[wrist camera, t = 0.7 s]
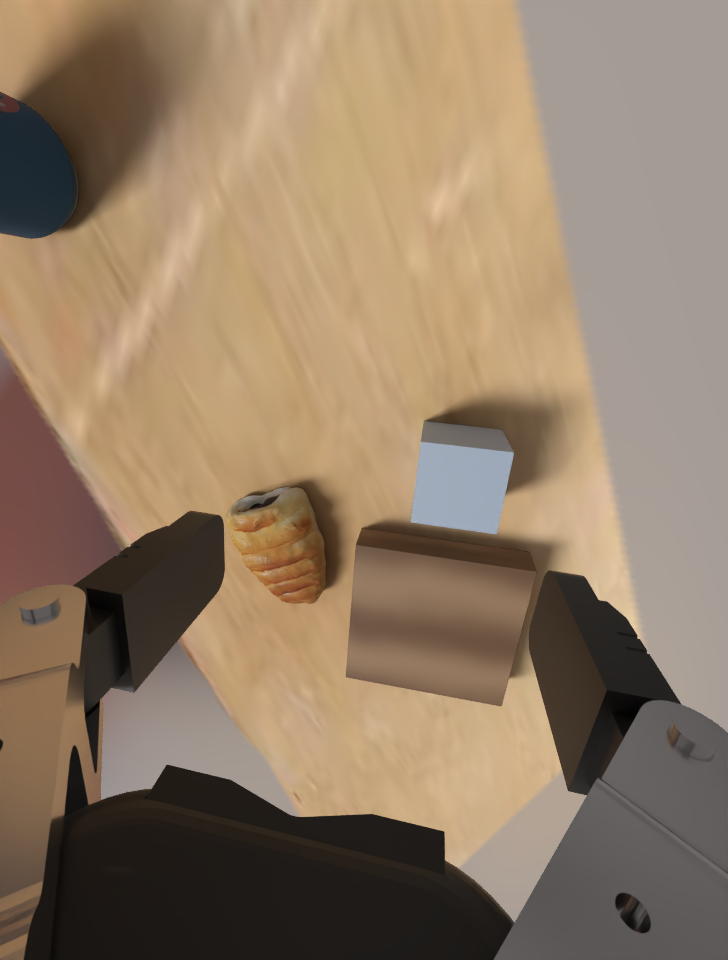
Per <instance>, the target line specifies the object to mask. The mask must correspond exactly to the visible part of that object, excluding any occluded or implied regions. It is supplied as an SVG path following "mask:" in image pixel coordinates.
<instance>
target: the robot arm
mask: <svg viewBox="0 0 728 960" xmlns="http://www.w3.org/2000/svg"><path fill="white" fill-rule="evenodd" d="M224 571H225V561H224V523H223V519H222V517H221V516H219V515H214V514H208V513H202V512H196V511H189V512H187V513H186V514H185V515H183V516H182V517H181V518H179V519H178V520H176V521H175V522H174V523H172V524H171V525H170V526H165V527H163V528H160V529H157V530H155V531H152V532H150V533H147V534H145V535H144V536H142V537H141V538H139V539H138V540H137V541H135V542H134V543H132V544H131V546H130V547H127V548H125V549H124V550H123V551H121V552H120V553H118V556H114V557H113V558H112V559H110V560H109V561H107V562H106V563H104V564H103V565H101V566H100V567H99V568H97V569H96V570H94V571H93V572H92V573H90V574H89V575H87V576H86V577H85V578H83V579H82V580H80V581H79V582H78V583H76V584H75V585H73V586H70V585H49V586H43V587H38V588H35V589H31V590H28V591H25V592H22V593H20V594H18V595H16V596H14V597H12V598H10V599H8V600H7V601H5V602H4V603H2V604H1V605H0V960H728V733H727V732H726V731H725V730H724V729H723V728H721V727H720V726H719V725H718V724H716V723H715V722H713V721H712V720H711V719H709V718H707V717H706V716H704V715H702V714H701V713H699V712H697V711H695V710H693V709H691V708H689V707H686V706H683V705H682V704H681V703H680V701H679V700H678V698H677V697H676V695H675V694H674V692H673V690H672V689H671V687H670V686H669V684H668V683H667V681H666V679H665V678H664V676H663V675H662V673H661V672H660V670H659V668H658V667H657V665H656V664H655V662H654V661H653V659H652V658H651V656H650V654H647V650H646V648H645V647H644V645H643V643H642V642H641V640H640V639H637V634H636V632H635V631H634V629H633V628H632V626H631V625H630V623H629V621H628V620H627V618H626V617H624V616H623V615H622V614H621V613H620V612H619V611H617V610H616V609H615V608H614V607H613V606H612V605H610V604H609V603H608V602H606V601H600V600H598V598H597V597H596V595H595V593H594V591H593V590H592V588H591V586H590V585H589V583H588V581H587V579H586V578H585V577H584V576H581V575H575V574H569V573H563V572H557V571H551V570H550V571H548V572H547V573H546V574H545V576H544V579H543V582H542V586H541V589H540V593H539V597H538V600H537V604H536V607H535V611H534V614H533V618H532V621H531V625H530V631H529V650H530V655H531V658H532V662H533V666H534V669H535V673H536V677H537V680H538V684H539V687H540V691H541V695H542V698H543V702H544V705H545V709H546V713H547V716H548V720H549V724H550V727H551V731H552V734H553V738H554V742H555V745H556V749H557V752H558V756H559V760H560V763H561V767H562V771H563V774H564V778H565V781H566V785H567V789H568V791H571V792H575V793H579V794H584V795H587V797H586V798H585V800H584V802H583V804H582V805H581V807H580V809H579V811H578V812H577V814H576V816H575V818H574V820H573V821H572V823H571V825H570V826H569V828H568V830H567V832H566V833H565V835H564V837H563V839H562V840H561V842H560V844H559V846H558V847H557V849H556V851H555V853H554V855H553V856H552V858H551V860H550V862H549V863H548V865H547V867H546V869H545V870H544V872H543V874H542V876H541V878H540V879H539V881H538V883H537V885H536V886H535V888H534V890H533V891H532V893H531V895H530V897H529V899H528V900H527V902H526V904H525V906H524V907H523V909H522V911H521V913H520V914H519V916H518V918H517V920H516V921H515V923H514V922H513V920H512V919H511V918H510V916H509V915H508V914H507V913H506V912H505V911H504V910H503V908H502V907H501V906H500V905H499V904H498V903H497V902H496V901H495V900H494V898H493V897H492V896H491V895H490V894H489V893H488V892H486V891H485V890H484V889H483V888H482V887H481V886H480V885H479V884H478V883H477V882H475V881H474V880H473V879H472V878H470V877H469V876H468V875H466V874H465V873H464V872H462V871H461V870H460V869H458V868H457V867H455V866H454V865H452V864H450V863H448V862H447V861H445V837H444V831H440V830H436V829H431V828H427V827H423V826H419V825H415V824H411V823H407V822H402V821H398V820H394V819H390V818H386V817H382V816H378V815H373V814H364V815H341V816H318V817H295V816H291V815H289V814H287V813H285V812H284V811H282V810H280V809H279V808H277V807H275V806H274V805H272V804H270V803H269V802H267V801H265V800H264V799H262V798H260V797H258V796H257V795H255V794H253V793H252V792H250V791H248V790H247V789H245V788H243V787H242V786H240V785H238V784H237V783H235V782H233V781H232V780H229V779H224V778H220V777H216V776H212V775H208V774H204V773H200V772H195V771H191V770H187V769H183V768H179V767H175V766H171V765H166V767H165V769H164V770H163V772H162V773H161V775H160V777H159V778H158V780H157V781H156V783H155V785H154V786H153V788H152V789H144V790H138V791H132V792H126V793H122V794H119V795H116V796H112V797H108V798H106V799H103V800H101V768H102V738H103V702H102V697H103V696H104V695H105V694H106V693H107V692H108V691H109V689H110V688H115V689H120V690H125V691H129V692H133V693H134V692H135V691H136V690H137V689H138V687H139V686H140V685H141V684H142V683H143V681H144V680H145V679H146V678H147V677H148V675H149V674H150V673H151V672H152V671H153V669H154V668H155V667H156V666H157V664H158V663H159V662H160V661H161V660H162V658H163V657H164V656H165V655H166V654H167V653H168V651H169V650H170V649H171V647H172V646H173V645H174V644H175V643H176V642H177V640H178V639H179V638H180V637H181V636H182V634H183V633H184V632H185V631H186V630H187V628H188V627H189V626H190V625H191V624H192V622H193V621H194V620H195V619H196V618H197V616H198V615H199V614H200V613H201V612H202V610H203V609H204V608H205V607H206V606H207V604H208V603H209V602H210V601H211V600H212V598H213V597H214V596H215V595H216V593H217V592H218V590H219V589H220V587H221V584H222V581H223V577H224Z"/></svg>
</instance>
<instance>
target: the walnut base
mask: <svg viewBox="0 0 728 960" xmlns="http://www.w3.org/2000/svg"><path fill="white" fill-rule="evenodd" d="M536 574H537V571H536V568H535V566H534V563H533V560H532V557H531V555H530V552H526V551H519V550H512V549H505V548H498V547H491V546H484V545H477V544H470V543H463V542H456V541H449V540H442V539H435V538H428V537H421V536H414V535H407V534H400V533H393V532H386V531H379V530H372V529H365V528H362V529H361V532H360V535H359V538H358V541H357V543H356V550H355V563H354V576H353V589H352V603H351V616H350V629H349V642H348V655H347V669H346V677H348V678H353V679H358V680H364V681H369V682H374V683H380V684H385V685H390V686H396V687H401V688H406V689H412V690H417V691H422V692H427V693H433V694H438V695H443V696H449V697H454V698H459V699H465V700H470V701H475V702H481V703H486V704H491V705H497V706H502V703H503V699H504V695H505V691H506V688H507V684H508V680H509V676H510V672H511V669H512V665H513V661H514V657H515V653H516V650H517V646H518V642H519V638H520V634H521V631H522V627H523V623H524V619H525V615H526V612H527V608H528V604H529V600H530V596H531V593H532V589H533V585H534V581H535V577H536Z"/></svg>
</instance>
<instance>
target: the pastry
mask: <svg viewBox="0 0 728 960" xmlns="http://www.w3.org/2000/svg"><path fill="white" fill-rule="evenodd" d="M226 517H227V525H228V526H229V527H230V530H231V536H232V541H233V543H234V545H235V547H236V548H237V549H238V551H239V553H240V554H241V556H242V559H243V562H244V564H245V565H246V566H247V567H248V568H249V569H250V571H251V572H252V573H253V574H255V575H256V576H257V578H258V579H259V580H260V581H261V582H262V583H263V584H264V585H265V587H267V588H268V589H269V590H270V591H271V593H272V594H274V595H276V596H277V597H279V598H280V600H281V601H283V602H287V603H308V604H312V603H314V602H316V601H317V599H318V598H319V596H320V595H321V593H322V592H323V590H324V589H325V587H326V579H325V575H326V573H325V568H326V560H325V554H324V548H325V543H324V539H323V536H322V534H321V533H320V531H319V528H318V525H317V522H316V516H315V514H314V511H313V508H312V506H311V504H310V501H309V499H308V497H307V494H306V493H305V491H304V490H303V489H301V488H298V487H295V488H290V487H283V488H278V489H276V490H274V491H271V492H268V493H266V494H264V495H262V496H257V495H252V496H247V497H245V498H241V499H239V500H238V501H237V502H235V503H234V504H233V505H232V507H231V508H230V509H229V511H228V512H227V514H226Z"/></svg>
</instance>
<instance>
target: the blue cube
mask: <svg viewBox="0 0 728 960" xmlns="http://www.w3.org/2000/svg"><path fill="white" fill-rule="evenodd" d="M513 456H514V451H513V449H512V448H511V446H510V444H509V442H508V440H507V438H506V436H505V434H504V432H503V431H502V430H501V429H492V428H483V427H474V426H465V425H456V424H447V423H438V422H429V421H424V424H423V431H422V438H421V446H420V453H419V461H418V469H417V477H416V485H415V492H414V500H413V508H412V516H411V522H412V523H419V524H426V525H433V526H440V527H447V528H455V529H462V530H469V531H476V532H483V533H490V534H497V530H498V526H499V521H500V516H501V512H502V507H503V502H504V498H505V493H506V489H507V484H508V479H509V475H510V470H511V465H512V461H513Z"/></svg>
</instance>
